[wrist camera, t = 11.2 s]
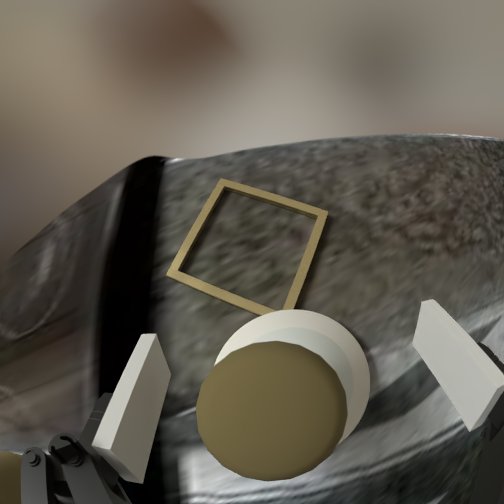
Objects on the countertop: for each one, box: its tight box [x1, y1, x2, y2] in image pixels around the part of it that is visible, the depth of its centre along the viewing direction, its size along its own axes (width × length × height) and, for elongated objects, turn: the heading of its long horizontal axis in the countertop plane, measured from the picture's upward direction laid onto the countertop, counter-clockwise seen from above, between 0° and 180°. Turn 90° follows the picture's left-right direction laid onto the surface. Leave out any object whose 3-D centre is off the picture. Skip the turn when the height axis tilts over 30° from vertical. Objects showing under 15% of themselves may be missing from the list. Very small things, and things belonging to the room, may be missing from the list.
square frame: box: [166, 179, 328, 316], centre depth 23 cm, size 10×10×1 cm
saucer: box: [214, 309, 370, 445], centre depth 18 cm, size 11×11×1 cm
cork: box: [196, 341, 348, 481], centre depth 12 cm, size 6×6×11 cm
